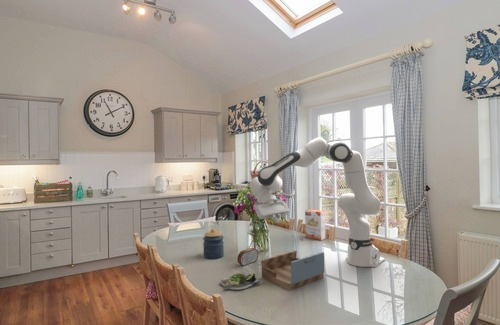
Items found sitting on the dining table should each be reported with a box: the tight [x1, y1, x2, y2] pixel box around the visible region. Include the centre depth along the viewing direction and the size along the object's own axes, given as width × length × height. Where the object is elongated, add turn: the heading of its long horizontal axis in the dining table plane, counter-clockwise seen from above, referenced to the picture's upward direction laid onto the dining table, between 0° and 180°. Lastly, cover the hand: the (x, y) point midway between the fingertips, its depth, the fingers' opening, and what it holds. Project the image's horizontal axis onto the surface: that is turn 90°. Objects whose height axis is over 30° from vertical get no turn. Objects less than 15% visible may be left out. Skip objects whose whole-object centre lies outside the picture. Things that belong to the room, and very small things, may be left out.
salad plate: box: [219, 272, 261, 291], centre depth 152 cm, size 19×18×5 cm
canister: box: [202, 228, 225, 260], centre depth 197 cm, size 13×13×18 cm
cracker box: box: [304, 208, 326, 241], centre depth 233 cm, size 14×6×21 cm, turn 43°
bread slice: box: [237, 247, 259, 267], centre depth 182 cm, size 15×3×8 cm, turn 134°
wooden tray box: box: [260, 250, 325, 291], centre depth 158 cm, size 24×20×9 cm
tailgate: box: [291, 252, 325, 284], centre depth 149 cm, size 22×2×10 cm, turn 127°
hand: (279, 222), depth 165 cm, fingers closed
